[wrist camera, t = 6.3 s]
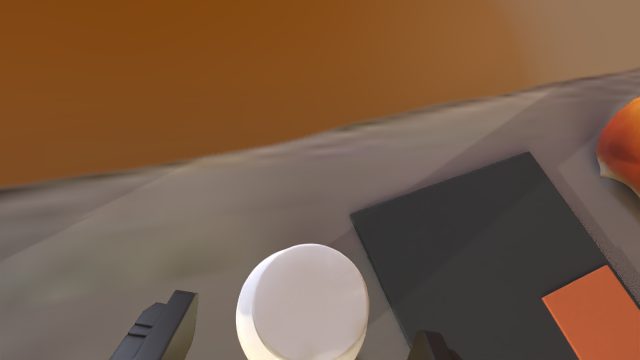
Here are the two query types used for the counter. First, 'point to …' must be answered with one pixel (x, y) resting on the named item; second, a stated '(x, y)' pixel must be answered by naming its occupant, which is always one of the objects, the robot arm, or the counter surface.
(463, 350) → the corner mat
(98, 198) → the counter surface
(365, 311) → the supplement bottle
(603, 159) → the fruit
